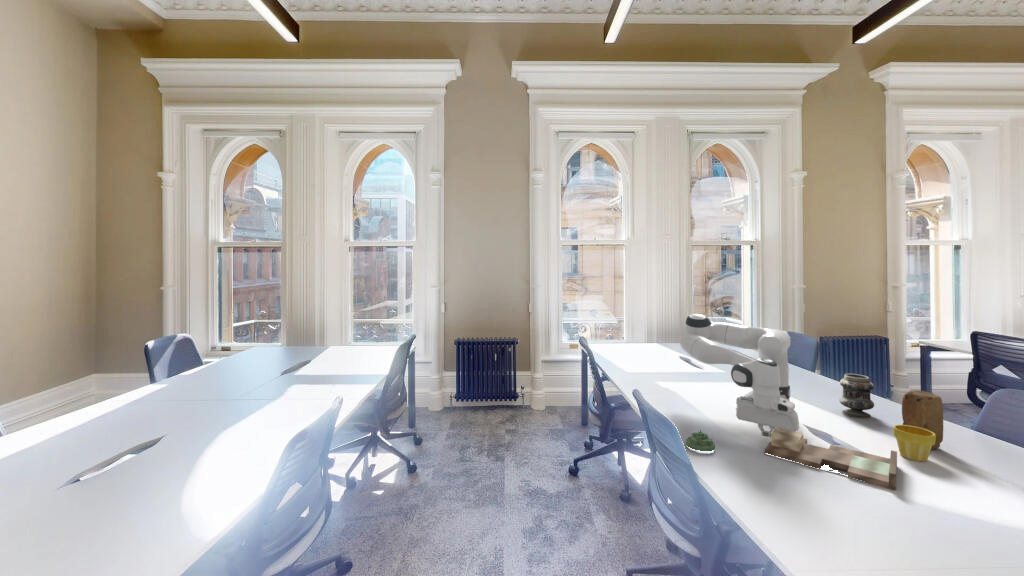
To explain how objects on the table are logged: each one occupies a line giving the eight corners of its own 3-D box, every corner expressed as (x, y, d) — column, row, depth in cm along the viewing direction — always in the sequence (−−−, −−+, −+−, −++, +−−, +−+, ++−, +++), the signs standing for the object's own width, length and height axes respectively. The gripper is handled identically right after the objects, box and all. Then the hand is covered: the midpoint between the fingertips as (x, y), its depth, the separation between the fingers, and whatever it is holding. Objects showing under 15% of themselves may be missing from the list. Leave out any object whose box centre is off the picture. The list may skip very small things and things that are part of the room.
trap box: (764, 454, 140) (764, 441, 140) (777, 437, 155) (777, 424, 154) (895, 490, 116) (895, 474, 116) (896, 466, 130) (897, 451, 130)
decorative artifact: (710, 457, 140) (718, 447, 147) (710, 438, 139) (718, 429, 147) (682, 449, 146) (691, 440, 154) (682, 431, 146) (691, 423, 153)
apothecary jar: (870, 412, 179) (870, 374, 178) (877, 421, 169) (877, 380, 168) (836, 408, 185) (837, 371, 185) (841, 416, 175) (841, 377, 174)
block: (945, 451, 140) (946, 397, 139) (922, 450, 141) (923, 396, 140) (919, 438, 151) (919, 388, 150) (897, 437, 152) (898, 387, 151)
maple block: (771, 444, 144) (771, 433, 144) (776, 437, 150) (776, 427, 150) (798, 451, 138) (798, 440, 138) (803, 443, 144) (803, 433, 144)
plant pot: (922, 452, 139) (922, 426, 139) (943, 466, 130) (943, 437, 129) (886, 448, 143) (886, 422, 142) (904, 461, 133) (904, 434, 133)
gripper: (733, 397, 153) (733, 431, 154) (796, 409, 139) (796, 446, 139) (738, 393, 158) (738, 426, 158) (800, 404, 143) (799, 441, 144)
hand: (766, 436), depth 149 cm, fingers closed
